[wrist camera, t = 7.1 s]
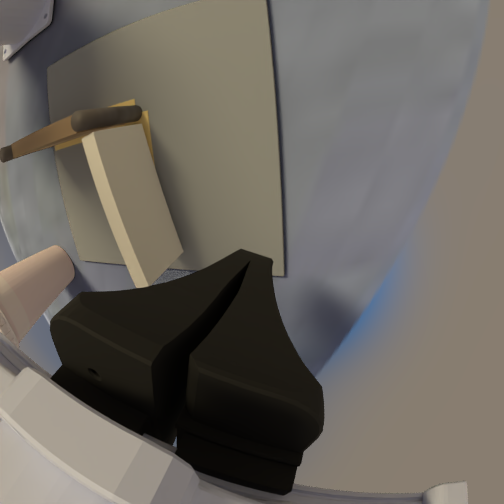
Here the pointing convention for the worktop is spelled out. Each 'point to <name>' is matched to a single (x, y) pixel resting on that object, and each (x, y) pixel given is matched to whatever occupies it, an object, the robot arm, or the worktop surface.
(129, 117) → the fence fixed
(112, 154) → the fence panel
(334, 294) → the worktop surface
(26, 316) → the smoothie
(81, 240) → the mat
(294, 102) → the worktop surface
